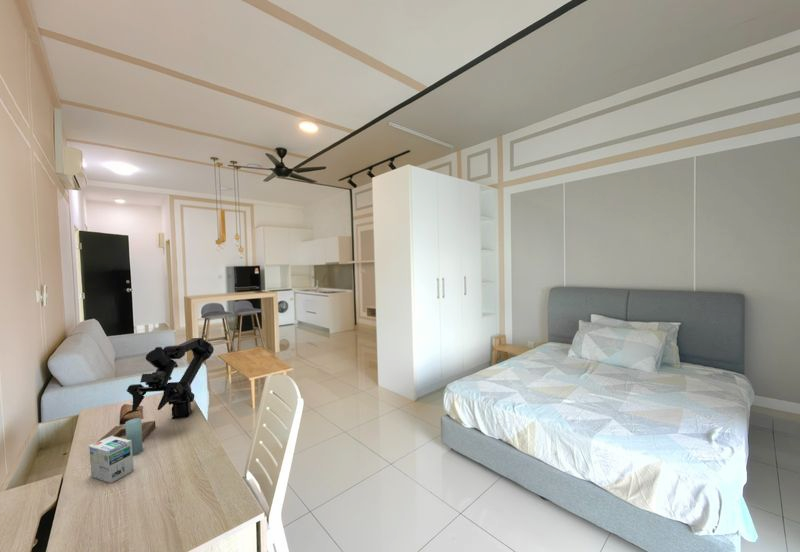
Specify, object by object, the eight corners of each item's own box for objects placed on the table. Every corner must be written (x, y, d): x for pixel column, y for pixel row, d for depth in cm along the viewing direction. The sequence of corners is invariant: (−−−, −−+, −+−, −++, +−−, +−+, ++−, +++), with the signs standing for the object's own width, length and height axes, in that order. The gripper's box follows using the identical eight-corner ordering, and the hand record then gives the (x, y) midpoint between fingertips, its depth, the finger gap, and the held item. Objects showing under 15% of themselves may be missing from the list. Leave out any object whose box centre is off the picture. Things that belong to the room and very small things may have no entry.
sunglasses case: (145, 418, 140) (134, 408, 138) (127, 431, 137) (116, 421, 134) (143, 405, 154) (133, 396, 151) (127, 417, 150) (117, 407, 148)
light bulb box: (134, 470, 104) (132, 439, 104) (110, 484, 98) (108, 451, 97) (114, 464, 108) (112, 434, 107) (89, 477, 101) (87, 445, 101)
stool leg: (145, 448, 117) (143, 417, 117) (139, 454, 113) (137, 422, 113) (131, 450, 116) (129, 419, 116) (124, 457, 112) (122, 424, 111)
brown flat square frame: (155, 427, 132) (155, 420, 132) (138, 445, 119) (138, 437, 119) (115, 433, 128) (115, 426, 128) (93, 452, 115) (93, 444, 115)
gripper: (128, 365, 124) (106, 404, 114) (177, 362, 126) (160, 401, 115) (144, 377, 132) (125, 414, 122) (189, 375, 134) (174, 411, 123)
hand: (145, 410), depth 120 cm, fingers open, 9 cm apart
